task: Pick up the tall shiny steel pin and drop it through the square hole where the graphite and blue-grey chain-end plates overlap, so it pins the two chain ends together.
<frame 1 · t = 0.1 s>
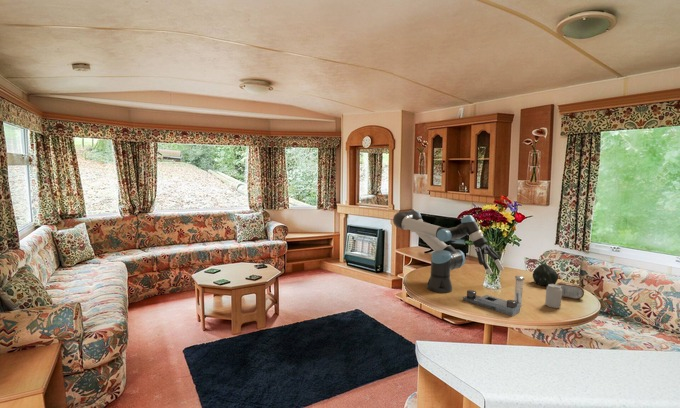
hand: (496, 271, 216), 15 cm above the table, tool tilted 35°, fingers open, 13 cm apart
squash: (544, 284, 244), on the table
can: (552, 306, 205), on the table
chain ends: (490, 306, 203), on the table
steel pin: (517, 306, 203), on the table
tin: (568, 297, 220), on the table
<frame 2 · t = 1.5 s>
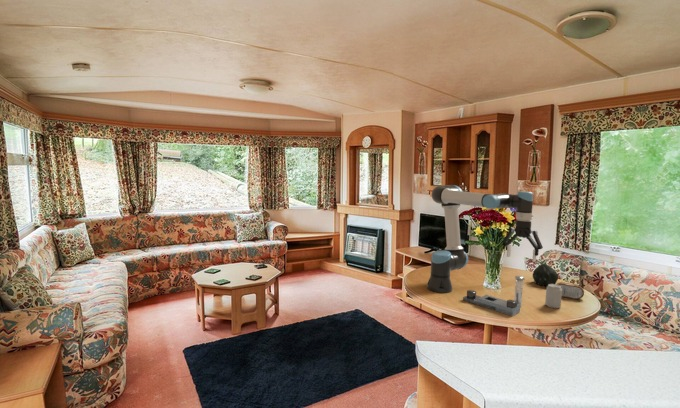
hand: (520, 259, 200), 27 cm above the table, tool pointing down, fingers open, 13 cm apart
nothing on the table moved.
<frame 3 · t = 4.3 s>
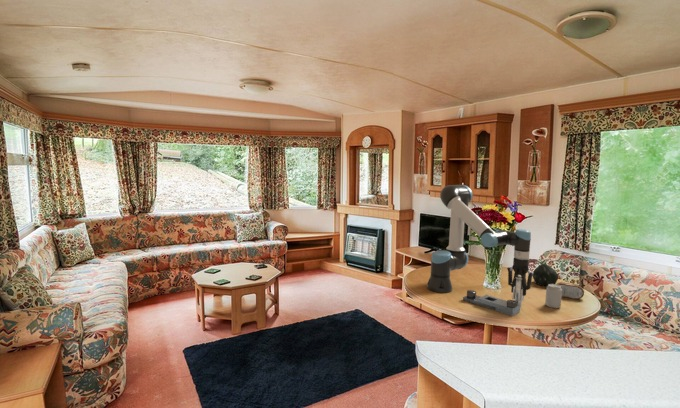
hand: (518, 299, 203), 4 cm above the table, tool pointing down, fingers closed on steel pin, 3 cm apart
steel pin: (517, 306, 203), on the table, touching gripper
everything else where it was.
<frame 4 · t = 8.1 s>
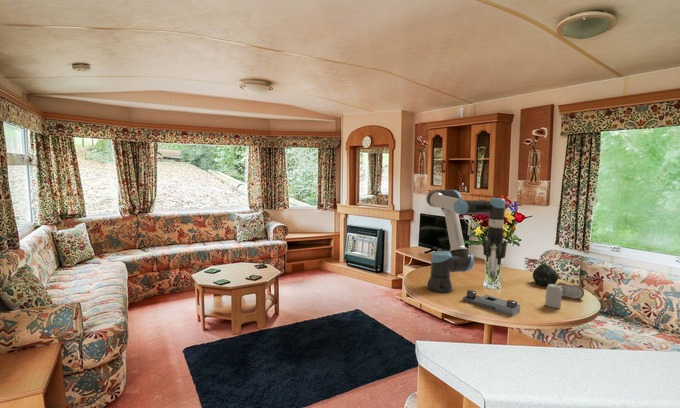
hand: (493, 269, 201), 21 cm above the table, tool pointing down, fingers closed on steel pin, 3 cm apart
steel pin: (492, 276, 201), point 17 cm above the table, touching gripper
everything else where it was.
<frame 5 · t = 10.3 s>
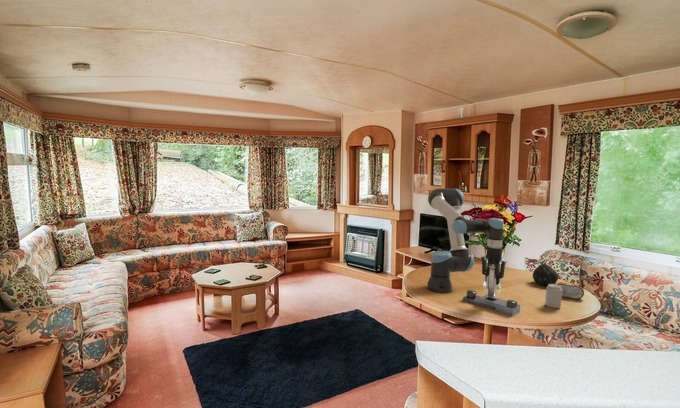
hand: (491, 288, 202), 10 cm above the table, tool pointing down, fingers closed on steel pin, 3 cm apart
steel pin: (491, 296, 203), point 6 cm above the table, touching gripper
everything else where it was.
when the fingers open (7 cm above the table, at t = 12.2 s): steel pin drops 2 cm, resting in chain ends.
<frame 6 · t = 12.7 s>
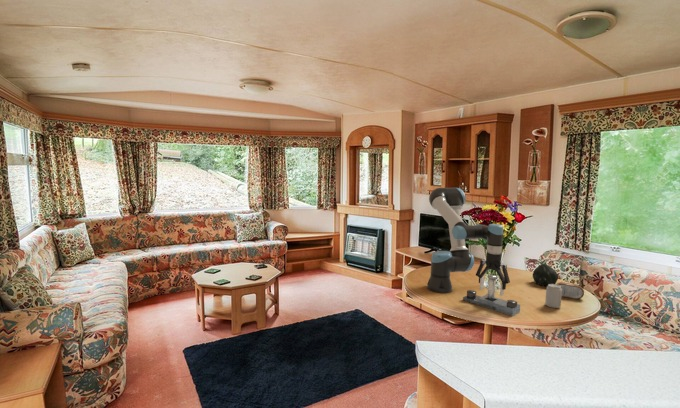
hand: (491, 292, 203), 8 cm above the table, tool pointing down, fingers open, 11 cm apart
steel pin: (490, 306, 203), resting in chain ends
everything else where it was.
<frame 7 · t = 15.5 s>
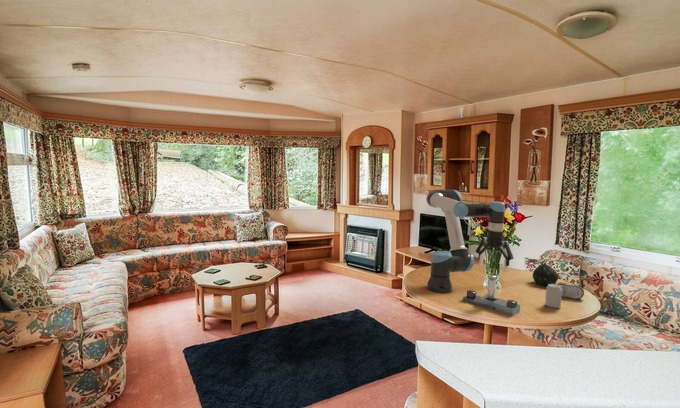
hand: (492, 268, 201), 21 cm above the table, tool pointing down, fingers open, 13 cm apart
nothing on the table moved.
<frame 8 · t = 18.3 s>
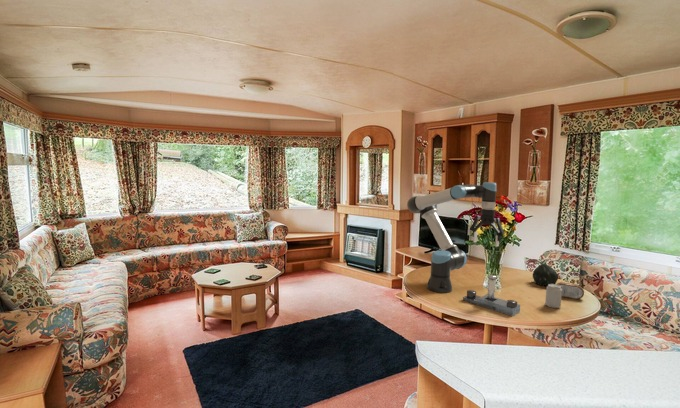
hand: (485, 244, 218), 31 cm above the table, tool pointing down, fingers open, 13 cm apart
nothing on the table moved.
at the end: steel pin 0.0 cm off-centre on the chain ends, point 0.0 cm above the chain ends's base; steel pin tilted 0°; the gripper is holding nothing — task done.
